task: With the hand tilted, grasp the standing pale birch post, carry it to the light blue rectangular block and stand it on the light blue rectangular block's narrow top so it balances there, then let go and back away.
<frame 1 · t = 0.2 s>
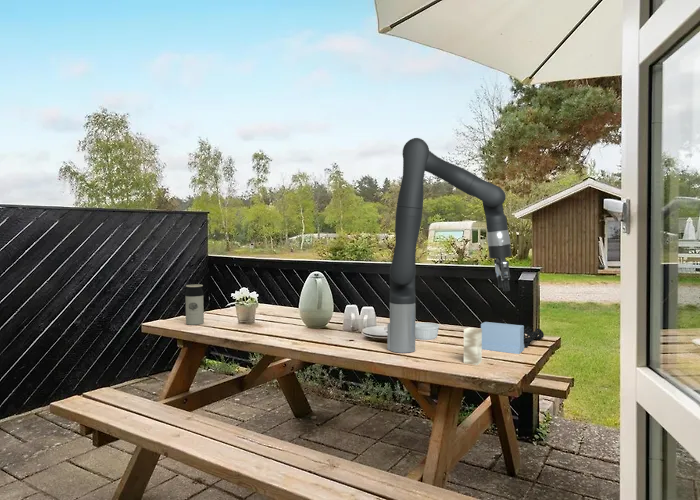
hand: (504, 289, 177), 22 cm above the table, tool pointing down, fingers open, 8 cm apart
decorative element: (529, 344, 192), on the table
birch post: (472, 362, 164), on the table
travel mug: (194, 324, 233), on the table
ramekin: (424, 338, 202), on the table
light blue rectangular block: (501, 349, 181), on the table
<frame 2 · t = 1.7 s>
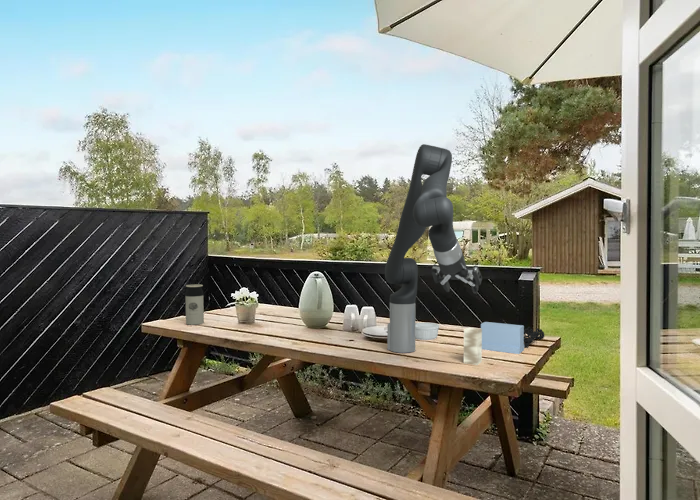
hand: (461, 290, 153), 25 cm above the table, tool tilted 45°, fingers open, 8 cm apart
nothing on the table moved.
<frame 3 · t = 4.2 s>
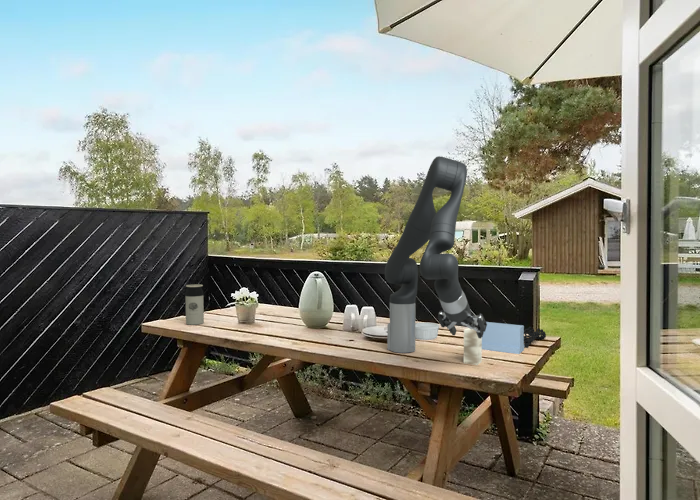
hand: (467, 334, 159), 10 cm above the table, tool tilted 45°, fingers open, 8 cm apart
nothing on the table moved.
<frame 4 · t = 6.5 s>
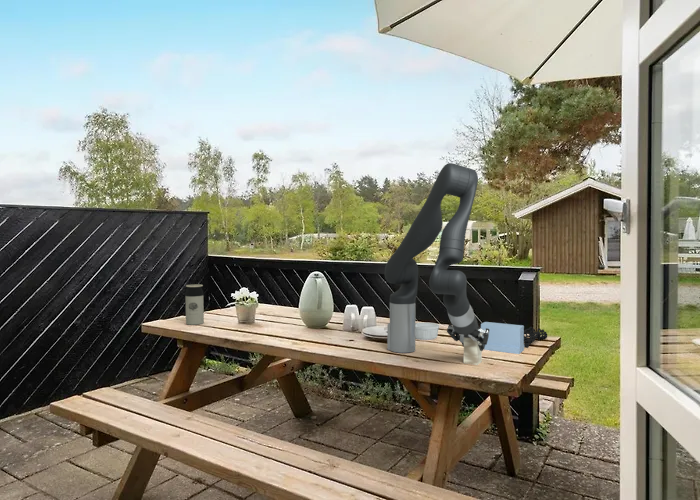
hand: (474, 347, 165), 5 cm above the table, tool tilted 45°, fingers closed on birch post, 4 cm apart
birch post: (472, 362, 164), on the table, touching gripper
everything else where it was.
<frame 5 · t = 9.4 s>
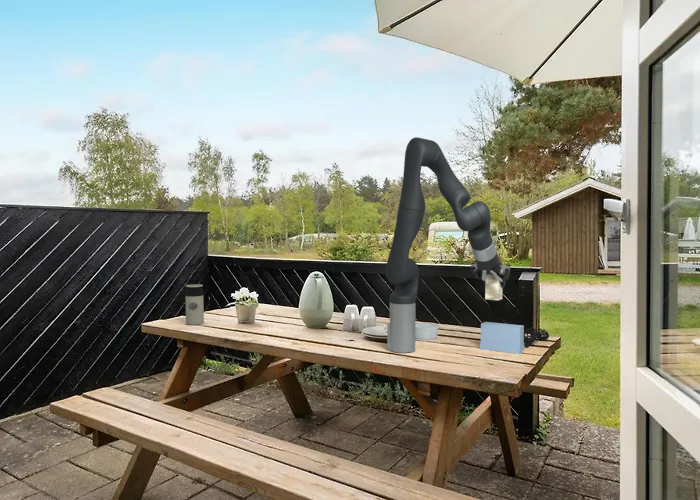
hand: (495, 285, 176), 24 cm above the table, tool tilted 45°, fingers closed on birch post, 4 cm apart
birch post: (493, 299, 174), point 19 cm above the table, touching gripper
when the fingers open (15 cm above the table, at t = 12.5 s): birch post drops 1 cm, resting on light blue rectangular block.
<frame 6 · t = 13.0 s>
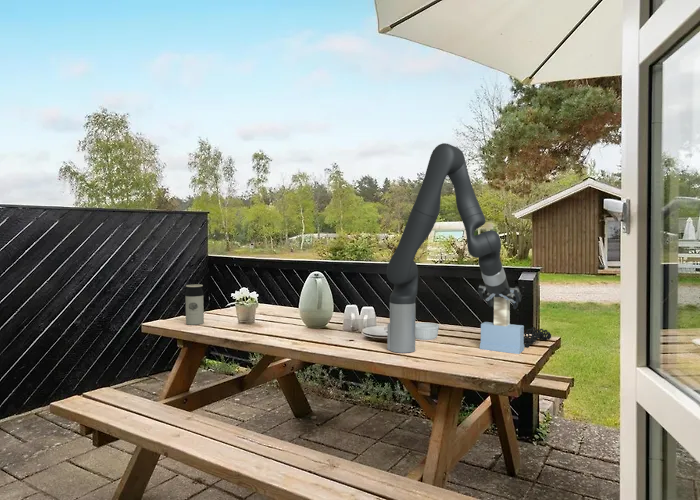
hand: (503, 305, 182), 16 cm above the table, tool tilted 45°, fingers open, 8 cm apart
birch post: (501, 324, 181), point 9 cm above the table, touching light blue rectangular block
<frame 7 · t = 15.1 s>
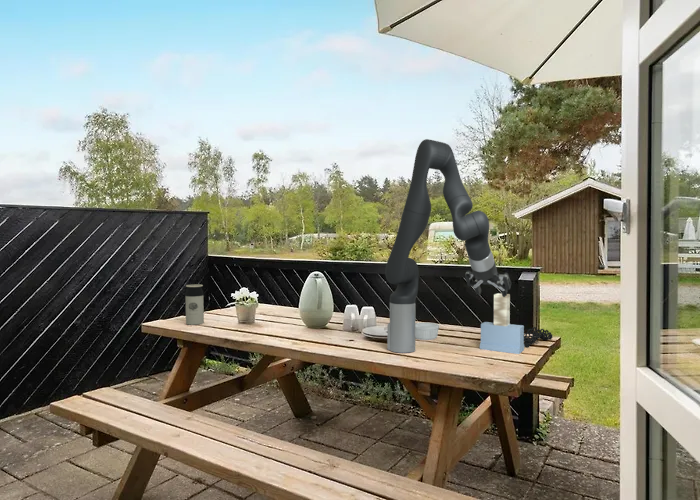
hand: (492, 293, 170), 22 cm above the table, tool tilted 45°, fingers open, 8 cm apart
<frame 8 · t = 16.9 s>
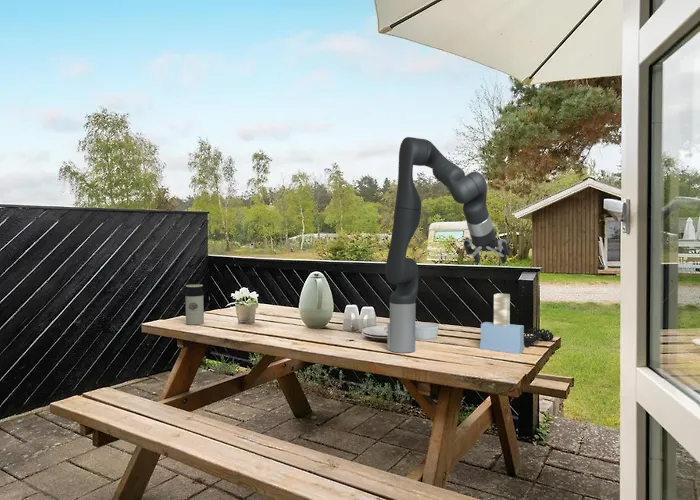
hand: (491, 261, 168), 33 cm above the table, tool tilted 45°, fingers open, 8 cm apart
at the end: birch post inside the target area on the light blue rectangular block (0.2 cm from its centre), point 9.0 cm above the light blue rectangular block's base; birch post tilted 0°; the gripper is holding nothing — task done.
